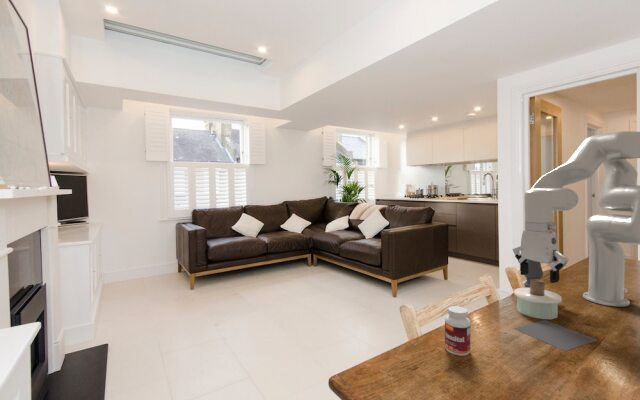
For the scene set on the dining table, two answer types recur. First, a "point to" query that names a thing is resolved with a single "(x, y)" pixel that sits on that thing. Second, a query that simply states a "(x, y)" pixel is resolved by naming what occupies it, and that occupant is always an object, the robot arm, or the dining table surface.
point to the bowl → (537, 309)
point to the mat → (555, 335)
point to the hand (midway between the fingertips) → (538, 278)
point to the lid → (537, 293)
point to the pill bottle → (457, 331)
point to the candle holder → (533, 272)
